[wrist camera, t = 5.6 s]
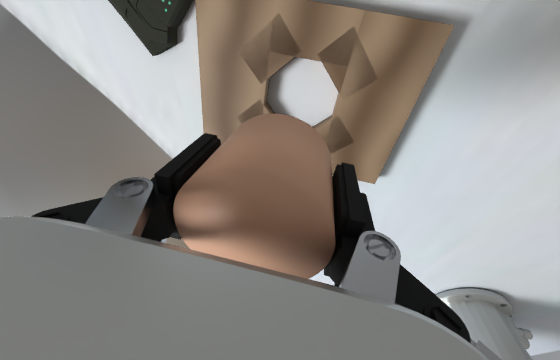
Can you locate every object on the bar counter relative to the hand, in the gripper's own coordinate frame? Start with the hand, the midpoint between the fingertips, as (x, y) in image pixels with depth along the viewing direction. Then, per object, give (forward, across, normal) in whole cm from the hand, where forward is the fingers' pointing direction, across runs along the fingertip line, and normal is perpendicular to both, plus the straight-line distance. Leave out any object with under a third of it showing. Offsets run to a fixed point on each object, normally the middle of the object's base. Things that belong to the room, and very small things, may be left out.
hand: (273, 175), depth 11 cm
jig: (+16, 0, 0) cm, 16 cm away
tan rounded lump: (+1, 0, 0) cm, 1 cm away
